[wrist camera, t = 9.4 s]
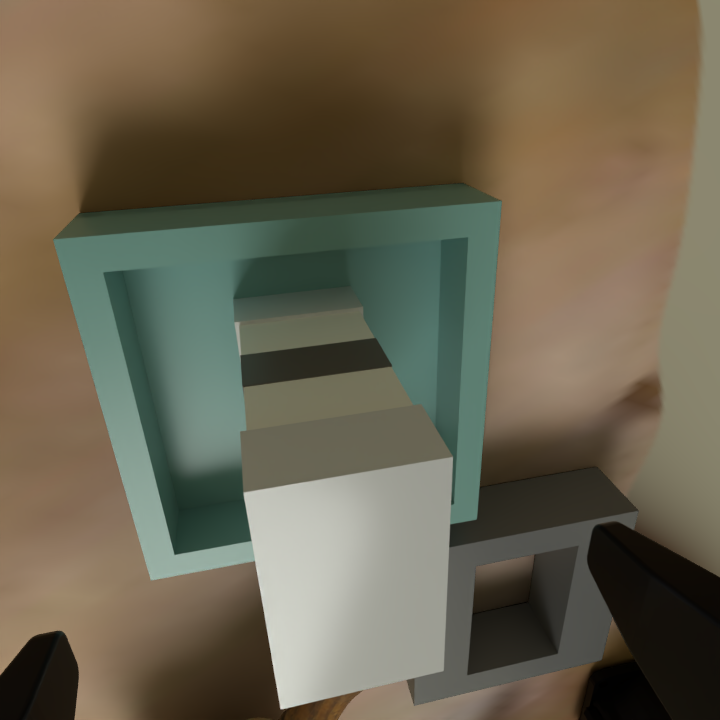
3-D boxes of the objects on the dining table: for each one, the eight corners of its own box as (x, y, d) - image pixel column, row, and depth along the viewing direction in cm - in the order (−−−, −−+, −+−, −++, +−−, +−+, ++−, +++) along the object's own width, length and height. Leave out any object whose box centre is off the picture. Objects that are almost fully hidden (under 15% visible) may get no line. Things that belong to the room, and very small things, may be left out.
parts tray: (462, 183, 16) (501, 201, 14) (449, 471, 20) (476, 519, 18) (79, 213, 14) (52, 239, 12) (159, 520, 19) (151, 580, 16)
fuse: (350, 286, 16) (452, 457, 9) (358, 440, 18) (443, 671, 11) (233, 299, 15) (243, 492, 8) (257, 456, 18) (280, 709, 11)
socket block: (596, 466, 22) (638, 510, 20) (569, 609, 26) (601, 660, 23) (395, 502, 20) (416, 554, 18) (396, 648, 24) (414, 705, 22)
